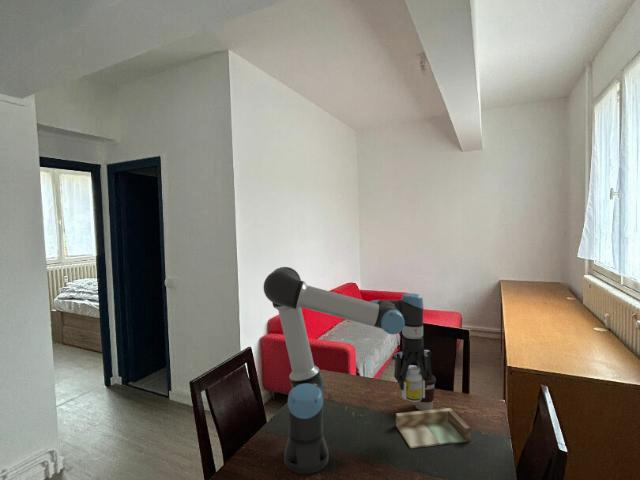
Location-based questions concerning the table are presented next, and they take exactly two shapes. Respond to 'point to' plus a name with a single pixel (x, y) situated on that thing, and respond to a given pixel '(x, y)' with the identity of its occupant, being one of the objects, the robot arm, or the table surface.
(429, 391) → the coffee cup
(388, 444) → the table surface
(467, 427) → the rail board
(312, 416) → the robot arm
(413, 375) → the pill bottle
